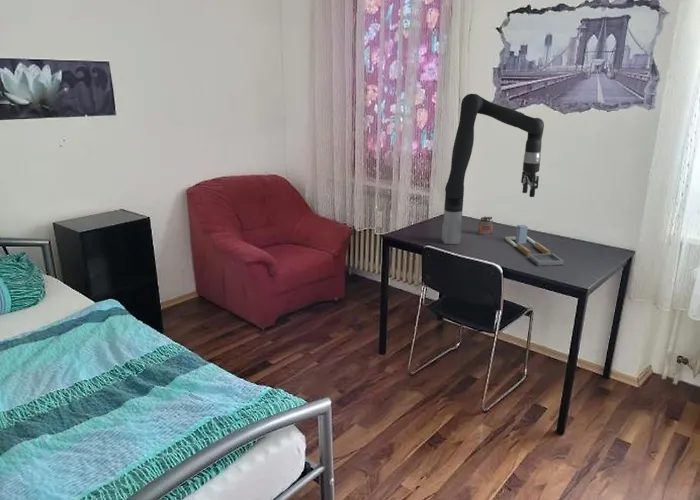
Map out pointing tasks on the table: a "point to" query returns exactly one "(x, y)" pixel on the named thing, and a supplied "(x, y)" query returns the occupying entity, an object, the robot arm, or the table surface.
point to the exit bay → (515, 239)
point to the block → (521, 234)
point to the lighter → (485, 226)
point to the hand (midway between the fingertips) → (528, 194)
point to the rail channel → (537, 245)
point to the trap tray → (546, 259)
